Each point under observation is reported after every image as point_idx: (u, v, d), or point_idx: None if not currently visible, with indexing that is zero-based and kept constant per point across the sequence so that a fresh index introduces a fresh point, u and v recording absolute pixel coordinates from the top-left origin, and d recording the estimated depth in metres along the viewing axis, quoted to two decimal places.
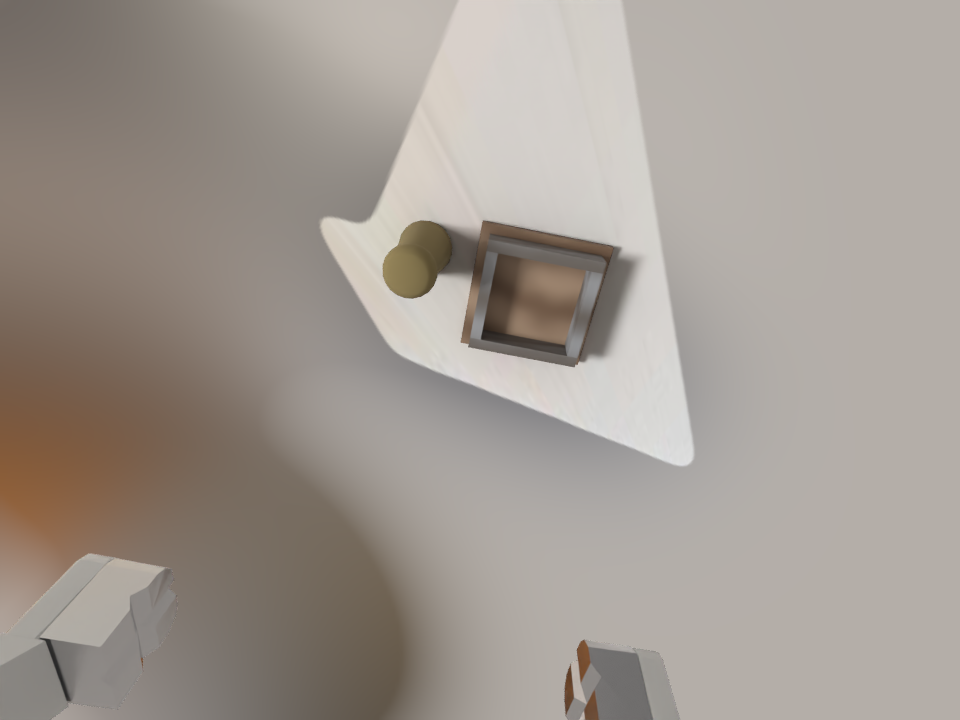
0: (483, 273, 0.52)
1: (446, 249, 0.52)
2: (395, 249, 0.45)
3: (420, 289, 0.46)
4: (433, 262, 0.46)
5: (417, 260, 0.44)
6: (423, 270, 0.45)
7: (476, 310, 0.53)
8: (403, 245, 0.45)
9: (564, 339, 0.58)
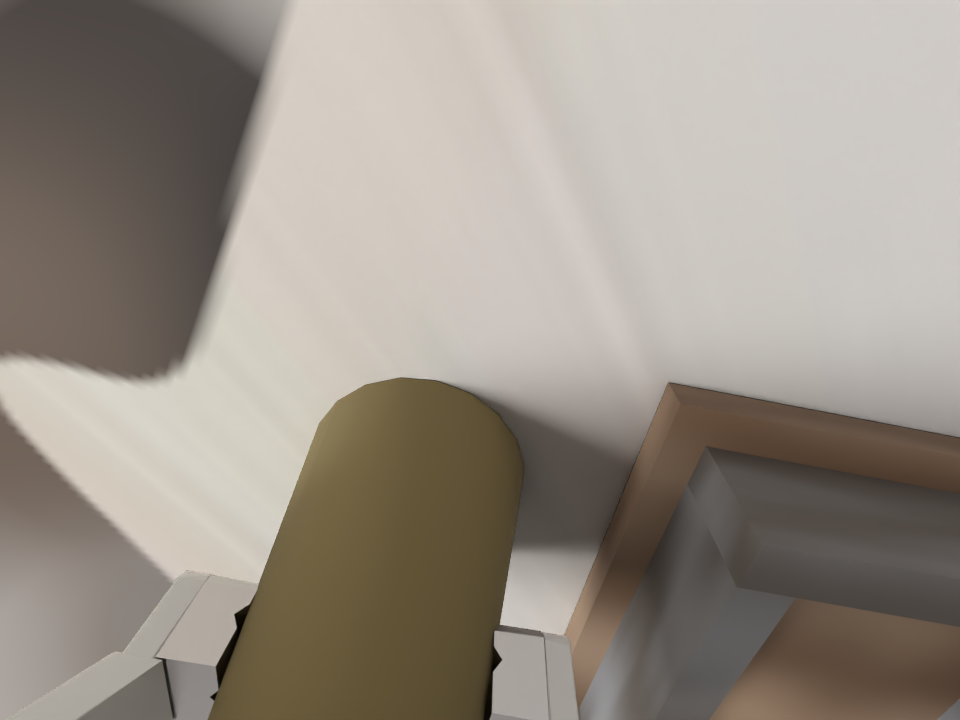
0: (697, 662, 0.11)
1: (511, 524, 0.11)
2: None
3: None
4: None
5: None
6: None
7: None
8: None
9: None
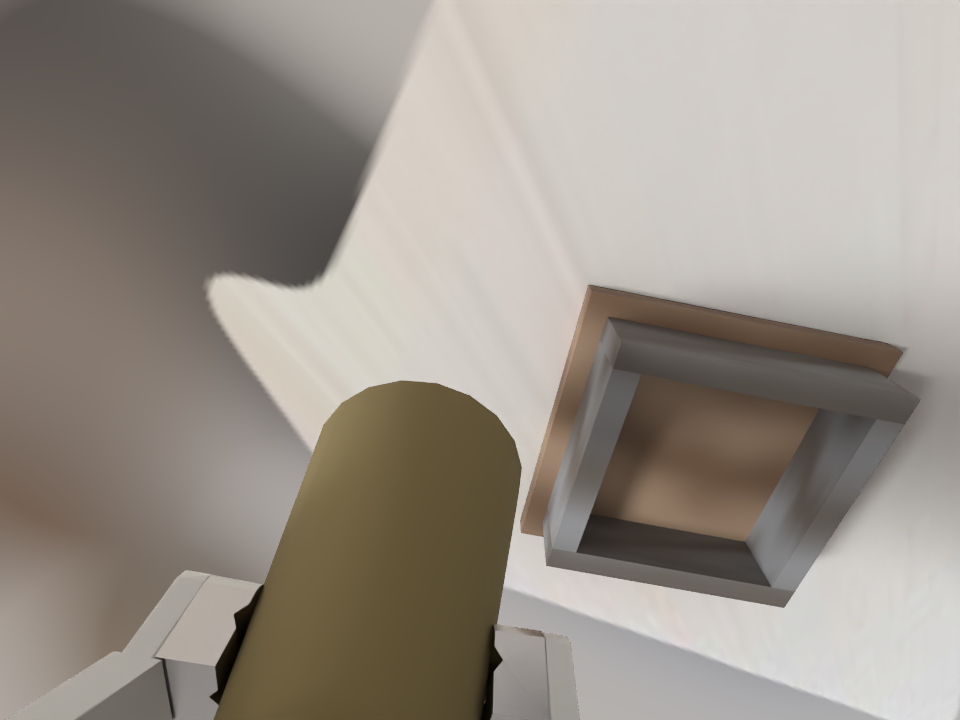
0: (598, 419, 0.21)
1: (509, 521, 0.12)
2: None
3: None
4: None
5: None
6: None
7: (572, 496, 0.23)
8: None
9: (747, 532, 0.27)
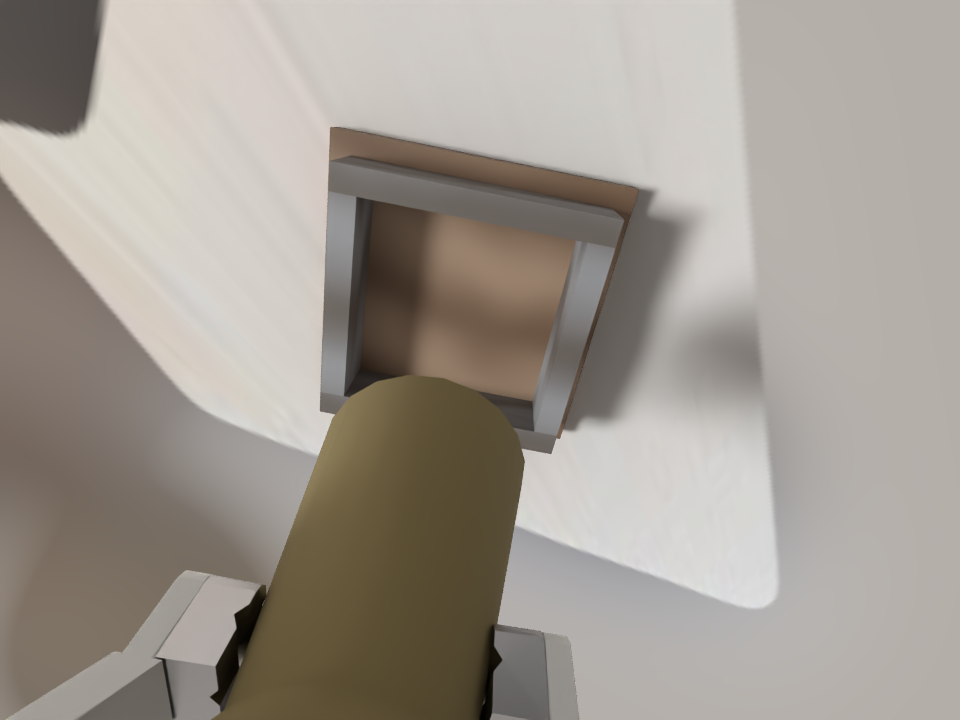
0: (328, 247, 0.22)
1: (513, 511, 0.12)
2: None
3: None
4: None
5: None
6: None
7: (325, 333, 0.23)
8: None
9: (532, 390, 0.28)
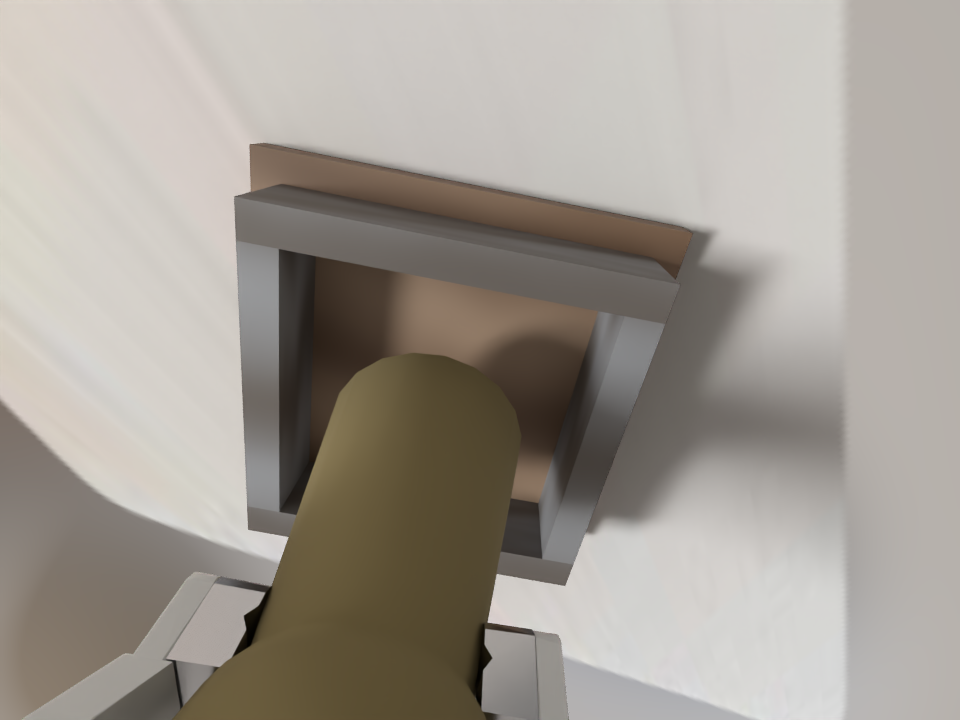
0: (243, 320, 0.15)
1: (510, 481, 0.13)
2: None
3: None
4: None
5: None
6: None
7: (247, 434, 0.17)
8: None
9: (538, 490, 0.21)
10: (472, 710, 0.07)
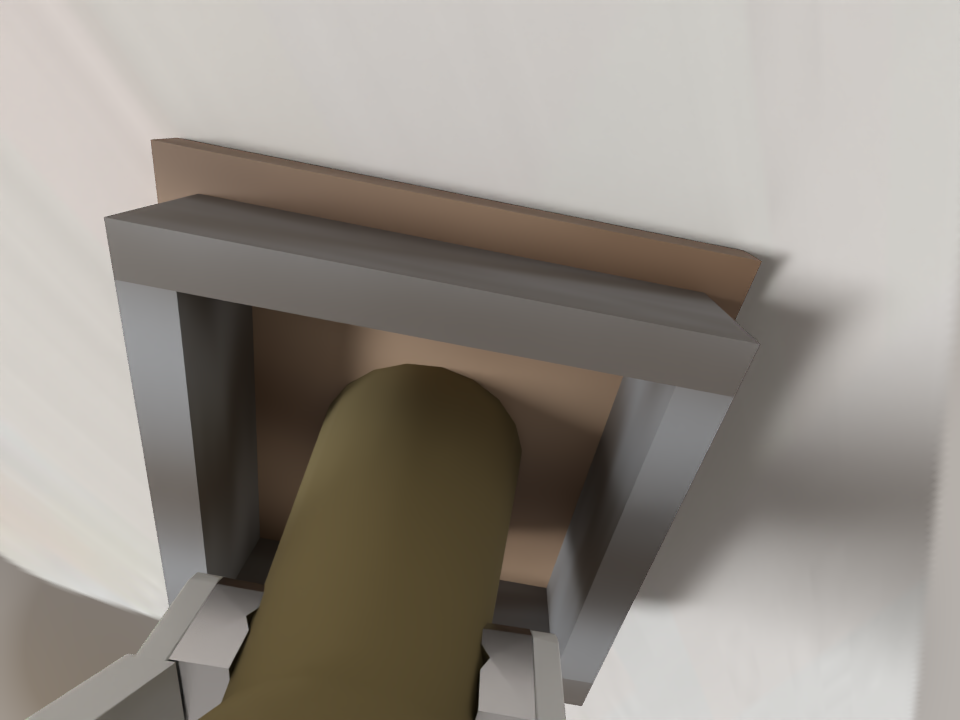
0: (137, 386, 0.10)
1: (510, 501, 0.12)
2: None
3: None
4: None
5: None
6: None
7: (160, 528, 0.12)
8: None
9: (547, 573, 0.17)
10: None
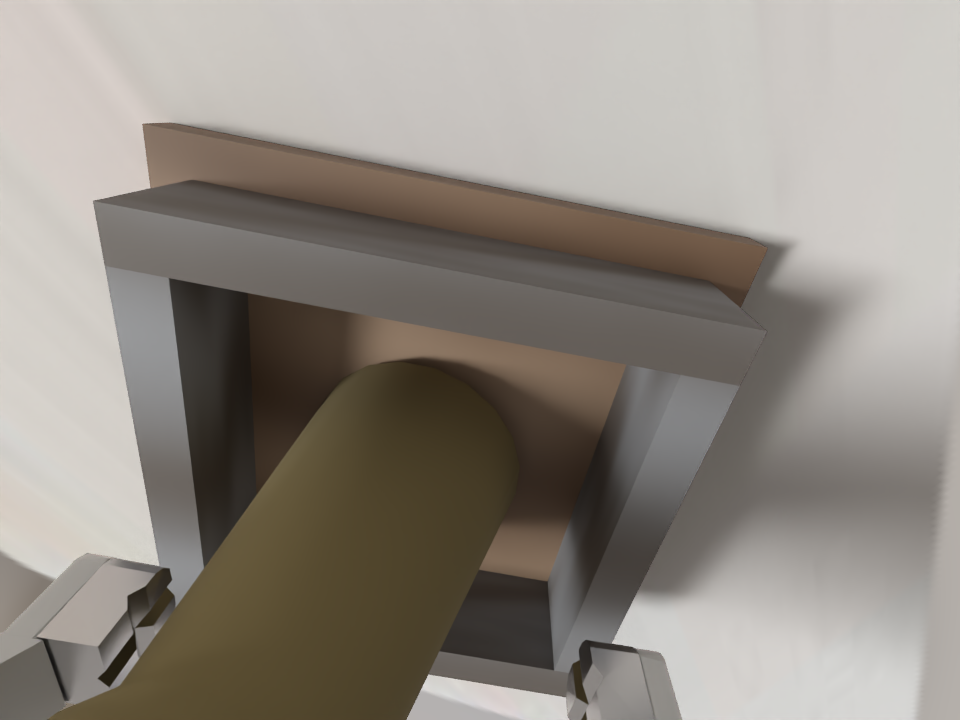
0: (129, 376, 0.10)
1: (487, 521, 0.11)
2: None
3: None
4: None
5: None
6: None
7: (155, 521, 0.12)
8: None
9: (548, 567, 0.16)
10: None
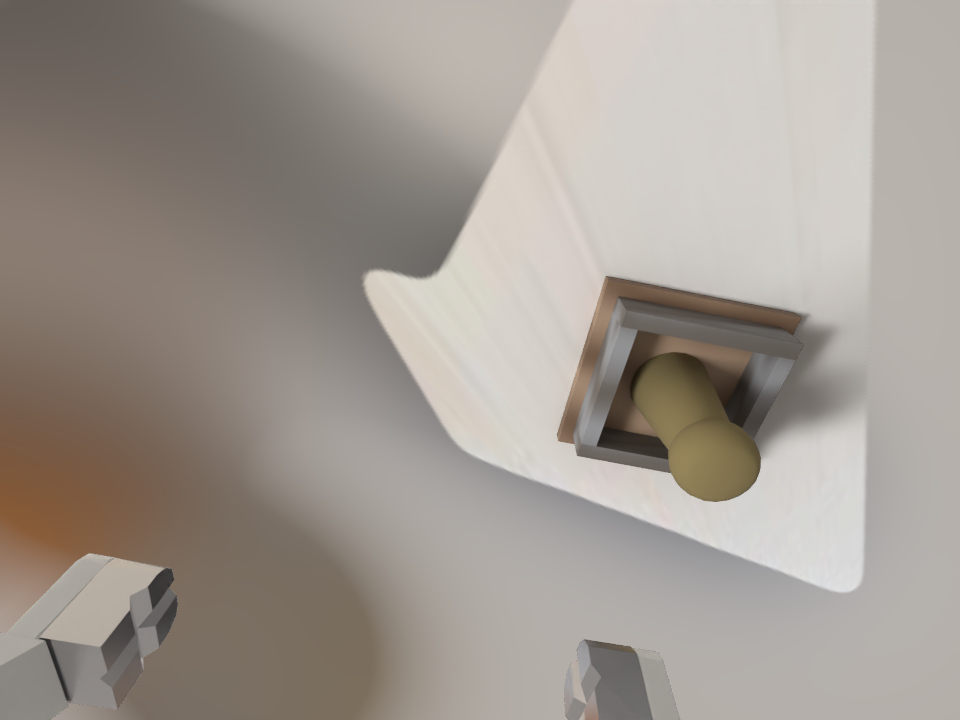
0: (612, 358, 0.34)
1: None
2: (707, 436, 0.29)
3: (737, 494, 0.29)
4: None
5: (746, 457, 0.28)
6: (752, 470, 0.29)
7: (595, 408, 0.36)
8: (717, 429, 0.29)
9: None
10: None
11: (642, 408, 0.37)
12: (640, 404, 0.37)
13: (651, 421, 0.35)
